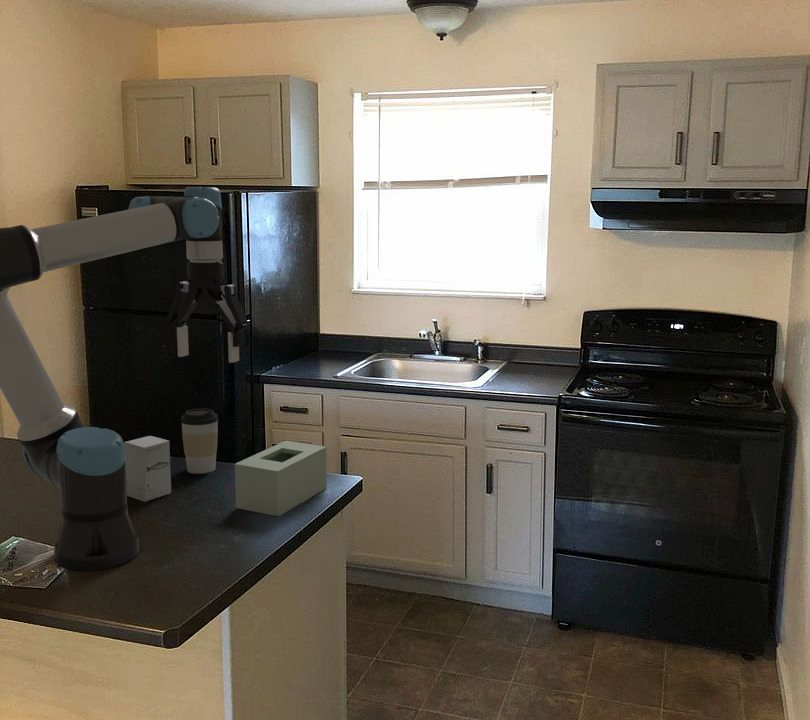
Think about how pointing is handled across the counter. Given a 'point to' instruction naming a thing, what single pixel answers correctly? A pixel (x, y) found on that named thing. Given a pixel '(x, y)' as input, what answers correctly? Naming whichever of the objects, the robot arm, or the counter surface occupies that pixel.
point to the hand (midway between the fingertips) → (208, 358)
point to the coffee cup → (200, 440)
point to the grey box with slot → (280, 477)
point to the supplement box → (147, 468)
